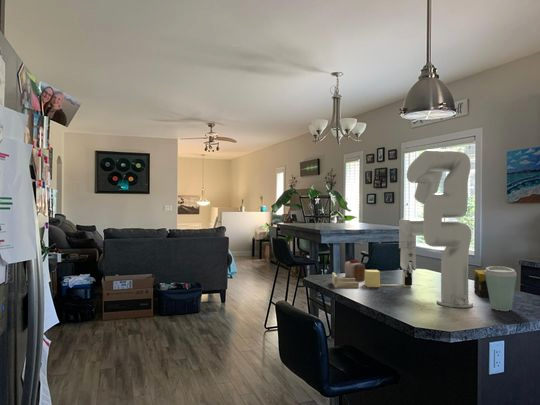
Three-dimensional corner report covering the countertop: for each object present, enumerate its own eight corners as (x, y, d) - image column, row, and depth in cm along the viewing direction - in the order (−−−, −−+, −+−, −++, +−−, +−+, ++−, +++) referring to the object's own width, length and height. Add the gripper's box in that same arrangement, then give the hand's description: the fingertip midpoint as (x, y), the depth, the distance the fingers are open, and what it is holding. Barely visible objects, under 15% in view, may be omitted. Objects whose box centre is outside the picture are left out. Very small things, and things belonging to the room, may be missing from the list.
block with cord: (411, 287, 184) (412, 272, 184) (366, 286, 186) (366, 271, 186) (408, 285, 190) (408, 270, 190) (364, 284, 192) (364, 269, 192)
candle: (499, 293, 173) (499, 270, 173) (506, 299, 163) (506, 274, 163) (473, 292, 176) (473, 269, 176) (479, 297, 166) (479, 273, 166)
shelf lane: (358, 288, 183) (358, 277, 183) (334, 287, 184) (334, 276, 184) (355, 283, 194) (355, 272, 194) (332, 282, 195) (332, 272, 195)
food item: (342, 276, 213) (342, 258, 213) (356, 276, 215) (356, 257, 215) (353, 281, 200) (353, 261, 200) (367, 280, 202) (368, 261, 202)
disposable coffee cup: (522, 313, 141) (522, 270, 141) (488, 311, 143) (488, 269, 143) (511, 306, 151) (511, 266, 151) (480, 304, 153) (480, 265, 154)
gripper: (421, 247, 179) (420, 288, 179) (410, 243, 195) (410, 281, 195) (404, 246, 180) (403, 288, 179) (394, 243, 196) (394, 281, 196)
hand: (407, 284), depth 187 cm, fingers closed on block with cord, 3 cm apart
